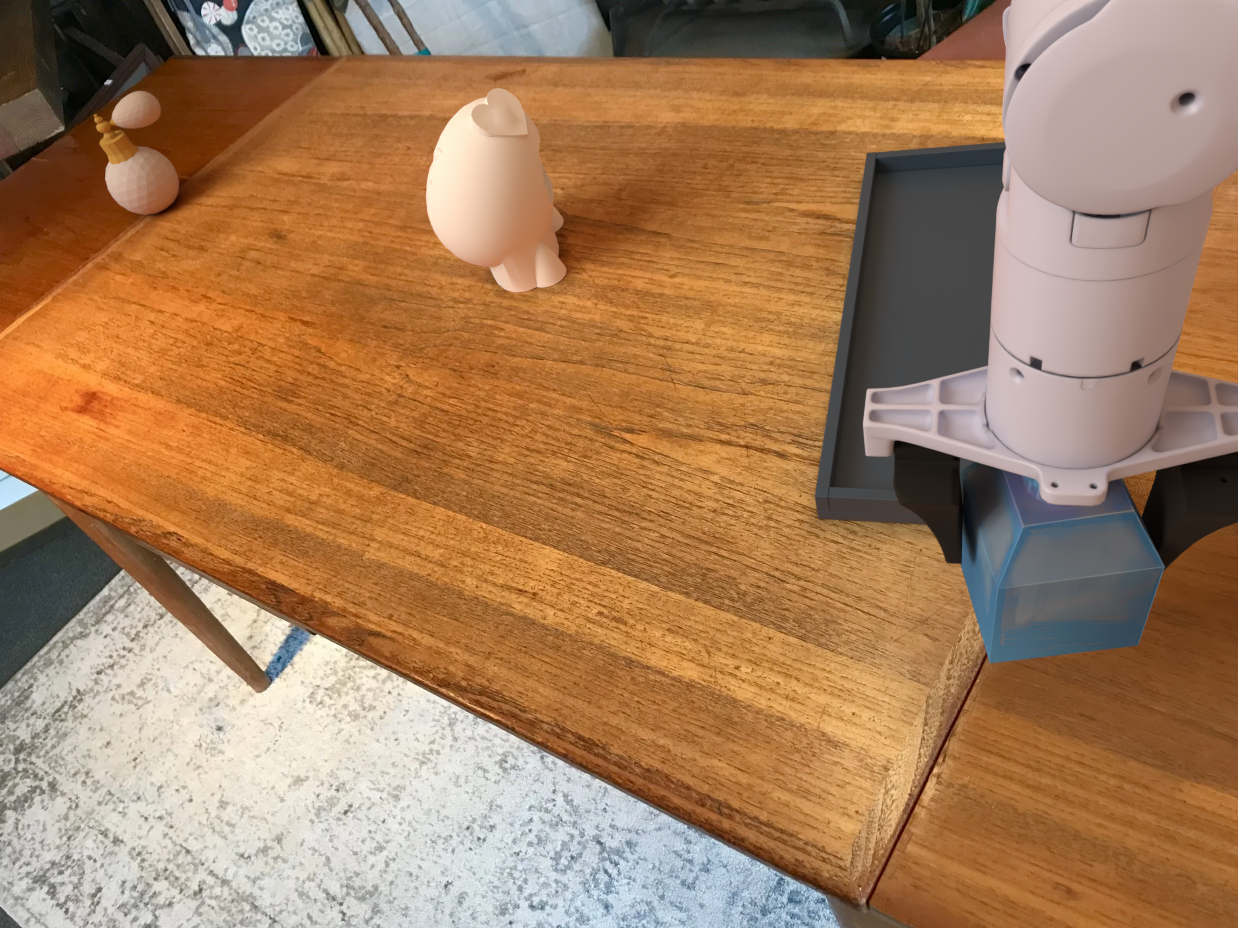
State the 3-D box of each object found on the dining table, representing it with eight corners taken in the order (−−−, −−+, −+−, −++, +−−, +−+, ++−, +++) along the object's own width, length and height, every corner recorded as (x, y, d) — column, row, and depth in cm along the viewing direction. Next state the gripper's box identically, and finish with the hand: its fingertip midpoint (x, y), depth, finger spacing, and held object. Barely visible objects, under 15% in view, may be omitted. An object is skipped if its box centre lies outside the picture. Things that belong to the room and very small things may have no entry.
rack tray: (1073, 161, 73) (1076, 135, 71) (1100, 534, 52) (1106, 509, 50) (868, 176, 78) (866, 152, 77) (817, 519, 57) (814, 496, 56)
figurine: (456, 315, 80) (380, 163, 69) (459, 239, 88) (391, 92, 77) (581, 281, 79) (523, 121, 68) (573, 207, 86) (520, 52, 75)
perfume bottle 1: (119, 218, 109) (48, 126, 100) (185, 171, 113) (121, 78, 104) (151, 231, 105) (79, 136, 96) (217, 182, 109) (154, 86, 100)
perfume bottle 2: (1090, 531, 45) (1130, 349, 36) (1138, 645, 41) (1196, 472, 32) (956, 550, 46) (963, 378, 37) (989, 663, 42) (1006, 500, 33)
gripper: (847, 405, 31) (868, 615, 41) (1381, 408, 26) (1257, 647, 36) (864, 267, 35) (880, 488, 45) (1328, 247, 30) (1230, 501, 40)
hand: (1047, 550), depth 41 cm, fingers closed on perfume bottle 2, 7 cm apart
